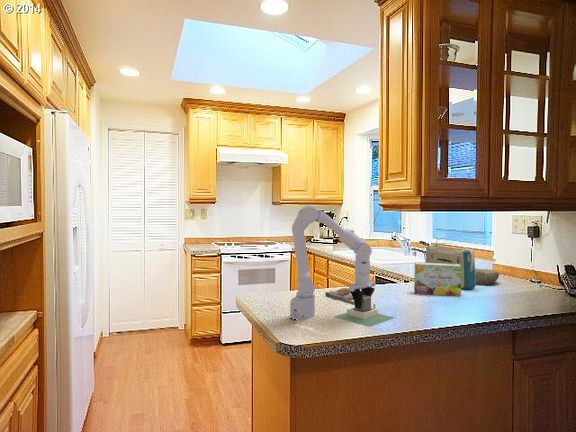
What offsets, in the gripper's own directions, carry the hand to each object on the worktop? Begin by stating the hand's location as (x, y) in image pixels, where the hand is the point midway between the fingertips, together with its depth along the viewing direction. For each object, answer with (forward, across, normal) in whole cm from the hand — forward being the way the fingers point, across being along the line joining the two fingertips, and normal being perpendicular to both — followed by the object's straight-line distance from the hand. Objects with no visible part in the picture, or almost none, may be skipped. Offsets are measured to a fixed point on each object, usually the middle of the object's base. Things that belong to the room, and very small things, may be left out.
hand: (362, 306), depth 159 cm
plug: (+2, 0, 0) cm, 2 cm away
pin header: (+3, +5, 0) cm, 6 cm away
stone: (+5, +102, -5) cm, 103 cm away
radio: (+4, +84, +6) cm, 85 cm away
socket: (+3, 0, 0) cm, 3 cm away
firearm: (+5, +20, +21) cm, 29 cm away
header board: (+4, -2, -2) cm, 5 cm away
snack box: (+4, +59, 0) cm, 59 cm away
